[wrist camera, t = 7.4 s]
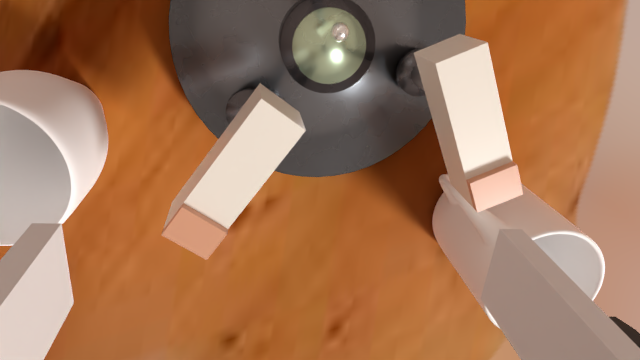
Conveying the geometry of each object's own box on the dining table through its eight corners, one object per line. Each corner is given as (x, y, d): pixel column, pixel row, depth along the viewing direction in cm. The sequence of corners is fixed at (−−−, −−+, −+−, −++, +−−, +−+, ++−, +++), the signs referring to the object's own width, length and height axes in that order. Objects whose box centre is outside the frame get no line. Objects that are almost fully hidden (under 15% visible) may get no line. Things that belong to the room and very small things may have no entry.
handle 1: (258, 66, 31) (261, 101, 23) (292, 92, 32) (306, 133, 24) (182, 170, 33) (161, 235, 25) (216, 191, 34) (206, 260, 26)
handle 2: (390, 40, 32) (438, 65, 23) (429, 24, 31) (492, 43, 23) (425, 156, 35) (477, 212, 27) (460, 142, 35) (523, 194, 27)
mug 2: (464, 119, 38) (538, 171, 28) (540, 209, 43) (626, 280, 33) (384, 190, 40) (428, 262, 30) (466, 270, 44) (527, 355, 34)
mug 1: (157, 105, 34) (109, 166, 24) (91, 185, 36) (22, 275, 26) (-7, -18, 30) (-151, -8, 19) (-70, 81, 32) (-232, 138, 21)
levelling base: (247, 203, 38) (247, 238, 33) (115, -56, 30) (89, -61, 25) (479, 109, 38) (514, 130, 33) (412, -182, 29) (445, -213, 24)
